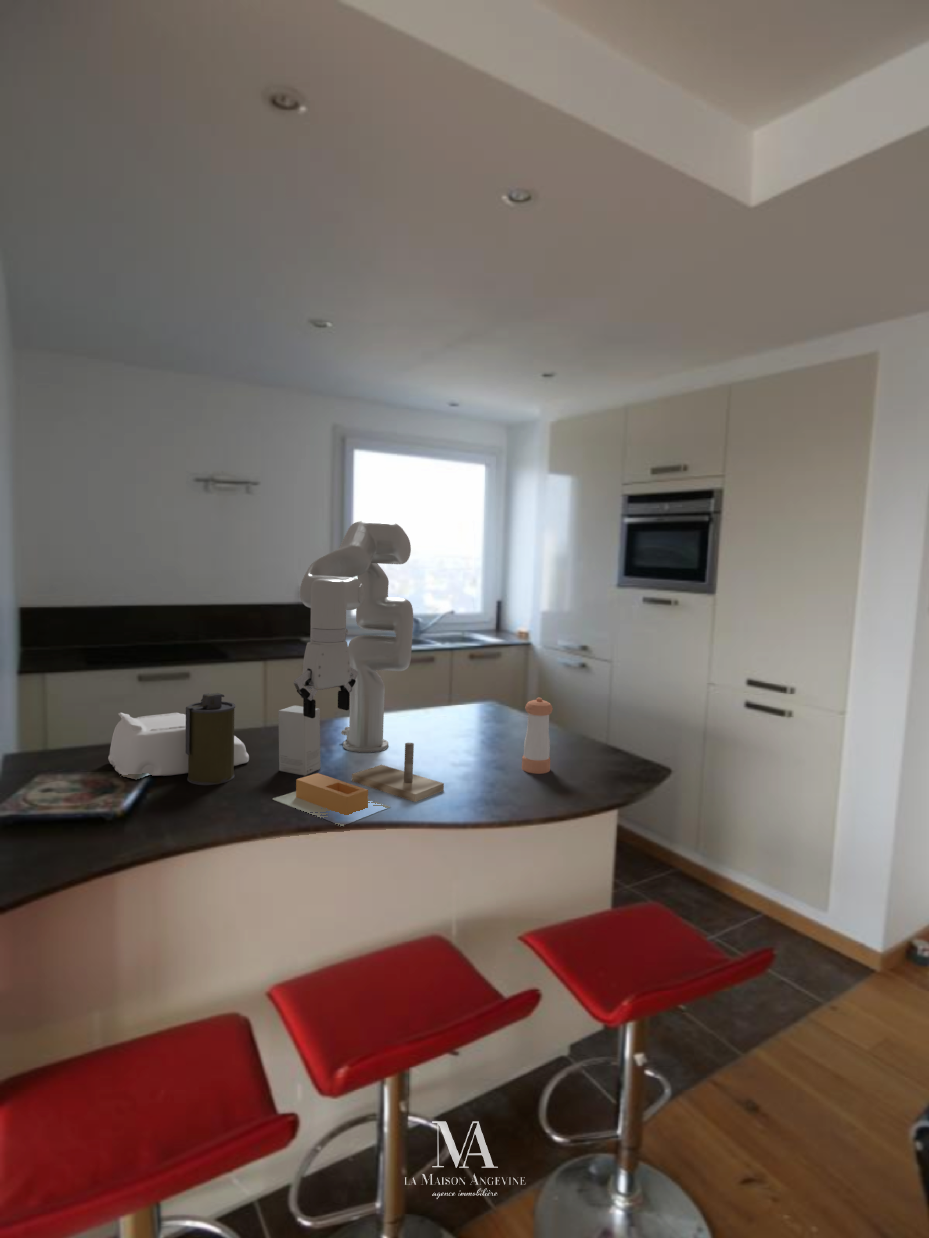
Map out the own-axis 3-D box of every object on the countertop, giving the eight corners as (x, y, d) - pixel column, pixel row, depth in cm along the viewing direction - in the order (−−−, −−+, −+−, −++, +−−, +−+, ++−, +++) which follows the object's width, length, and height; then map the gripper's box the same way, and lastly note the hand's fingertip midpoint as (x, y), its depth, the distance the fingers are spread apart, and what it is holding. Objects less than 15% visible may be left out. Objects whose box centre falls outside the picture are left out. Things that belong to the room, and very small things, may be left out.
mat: (272, 800, 145) (272, 798, 145) (322, 784, 156) (322, 782, 156) (342, 828, 132) (342, 826, 132) (390, 808, 143) (391, 806, 143)
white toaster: (104, 764, 165) (104, 710, 164) (226, 747, 184) (227, 699, 182) (120, 786, 150) (120, 728, 149) (252, 765, 168) (252, 713, 167)
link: (367, 808, 142) (368, 789, 141) (346, 816, 137) (347, 797, 136) (317, 790, 151) (317, 772, 151) (296, 796, 146) (296, 779, 146)
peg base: (351, 782, 159) (352, 736, 158) (381, 772, 167) (382, 729, 166) (415, 803, 147) (416, 754, 146) (443, 791, 155) (445, 745, 154)
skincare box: (320, 769, 167) (322, 708, 165) (304, 777, 161) (305, 713, 159) (294, 764, 170) (295, 704, 169) (276, 771, 164) (277, 709, 163)
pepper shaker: (515, 769, 173) (519, 697, 171) (532, 764, 178) (536, 693, 177) (538, 776, 168) (542, 702, 167) (555, 770, 174) (559, 698, 172)
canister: (222, 768, 165) (223, 688, 163) (242, 779, 157) (243, 695, 155) (178, 777, 157) (178, 693, 155) (196, 789, 150) (197, 701, 148)
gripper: (346, 630, 154) (344, 703, 156) (284, 637, 140) (283, 716, 142) (369, 634, 149) (367, 709, 151) (307, 641, 136) (306, 723, 137)
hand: (326, 713), depth 147 cm, fingers open, 9 cm apart
